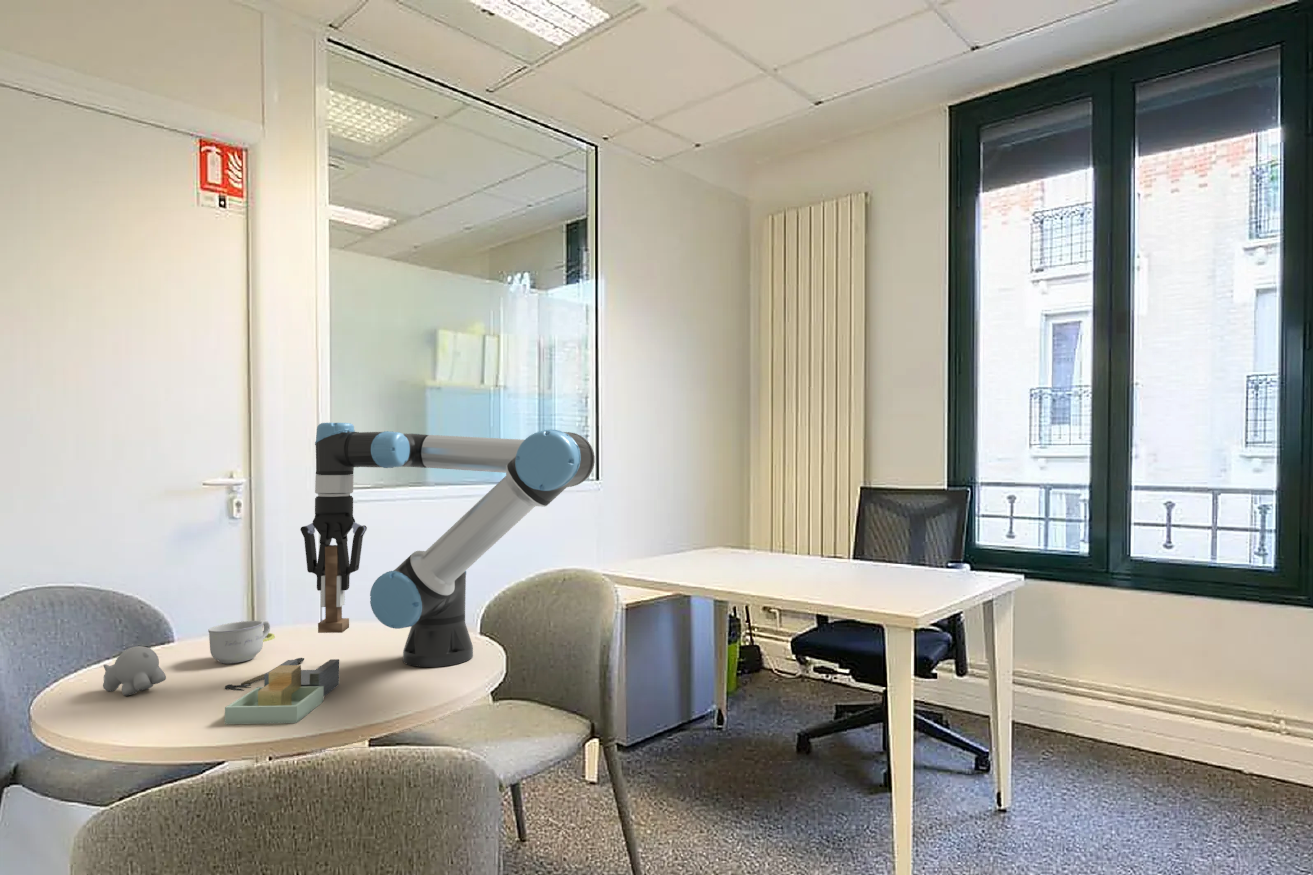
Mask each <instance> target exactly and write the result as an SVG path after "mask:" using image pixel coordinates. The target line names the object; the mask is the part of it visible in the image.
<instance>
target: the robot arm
mask: <svg viewBox="0 0 1313 875" xmlns="http://www.w3.org/2000/svg"><path fill="white" fill-rule="evenodd" d="M315 434H316V437H315V442H314V445H315V479H314V493H315V494H317V496H315V498H314V518H313V520H312V523H310V524H307V525H304V526H301V527H300V532H301V534H302V536H303V539H304V540H303V541H304V549H305V550H304V551H305V559H306V569H307V572H308V573H312V574H314V575H315V576H316V589H317V591H320V607H321V608H325V547H326V546H329V545H331V543H332V541H333V539H334V540H335V543H336V545H337V547H338V556H339V564H340V575H338V576H337V600H336V607H341V606H342V607H343V606H344V605H346V602H345V600H346V599H345V598H346V591H347V590H349V589H350V575H351V573H354V572H356V571H359V570H360V562H361V554H362V546H363V540H364V538H363V537H364V536H365V534H366V531H367V530H368V527H367V526H366V525H361V524H359V523H357V522H356V520H355V518H354V515H353V514H354V497H353V496H352V495H351V494H352V493H354V470H355V469H354V468H383V469H391V468H392V469H393V468H399V467H400V468H405V467H406V468H423V469H425V468H426V469H442V470H444V469H445V470H456V471H457V470H459V471H460V470H461V471H470V472H471V471H472V472H489V473H501V474H502V473H505V476H504V477H503V478H502V479H501V480H500V481H498V482H497V484H496V485H494V486H493V487H492V488H491V489H490V490H489V491H488V492H487V493H486V494H485V495H484V496H483V497H482V498H480V500H478V501H477V502H476V503H475V504H474V505H473V506H472V507H471V508H470V509H469V510H468V511H467V512H465V514H463V515H462V516H461V517H460V518H459V519H458V520H457V521H456V522H455V523H454V524H453V525H452V526H451V527H449V528H448V530H446V532H445V533H444V534H442V535H441V536H440V537H439V538H438V539H436V541H435V542H433V543H432V545H430V546H429V547H428V548H427V549H426V550H415V551H414V552H412V553H411V554H410V555H409V556H408V557H407V558H406V559H404V561H402V562H401V564H399V565H398V566H397V567H396V568H395V569H394V570H389V571H386V572H385V573H382V575H379V577H377V578H376V580H375V581H374V582H373V584H372V585H371V588H370V593H369V597H370V601H369V603H370V608H371V610H372V613H373V615H374V616H375V618H376V619H377V620H378V621H379V622H380V623H381V624H382V625H384V626H385V627H388V628H391V629H395V630H397V629H399V630H400V629H405V628H410V630H409V632H408V634H407V638H406V641H405V644H404V648H403V651H402V662H403V663H405V664H406V665H409V666H413V667H419V668H420V667H421V668H422V667H423V668H430V667H431V668H435V667H445V666H446V667H447V666H452V665H457V664H461V663H465V662H467V661H469V660H471V659H472V658H474V657H473V656H474V645H473V641H472V639H471V636H470V633H469V630H468V626H467V623H466V593H467V592H466V589H467V588H466V587H467V586H466V585H467V584H466V582H467V579H466V576H467V570H469V568H470V567H472V565H474V563H476V562H477V561H478V560H479V559H480V558H481V557H482V556H483V555H484V554H486V552H488V551H489V550H490V549H491V548H492V547H493V546H494V545H495V544H496V543H497V542H499V540H501V539H502V538H503V537H504V536H505V535H506V534H508V532H509V531H510V530H511V529H512V528H514V526H516V525H517V524H518V523H519V522H520V521H521V520H522V519H523V518H525V516H526V515H527V514H528V513H530V511H532V510H533V509H534V508H535V507H541V508H542V507H547V506H548V505H550V503H552V502H553V501H554V500H555V499H557V497H558V496H559V495H560V494H562V492H564V491H565V489H567V488H571V487H574V486H575V487H576V486H579V485H580V484H582V483H583V482H585V481H586V480H588V478H589V477H590V475H591V474H592V472H593V470H594V468H595V467H594V466H595V460H596V458H595V452H594V450H593V447H592V445H591V443H590V442H589V441H588V440H587V439H586V438H585V437H583V436H582V435H580V434H578V433H575V432H570V431H568V432H567V431H561V430H558V429H544V430H541V431H537V432H534V433H532V434H531V435H528V437H526V438H525V439H520V438H500V437H498V438H497V437H480V436H478V437H477V436H461V435H460V436H458V435H439V434H420V433H402V432H400V431H399V432H397V431H388V430H387V431H385V430H384V431H364V432H363V431H362V432H359V431H356V430H355V426H354V424H353V423H351V422H350V423H349V422H321V423H319V424H317V427H316V433H315ZM351 530H352V534H353V538H352V545H351V552H350V556H349V548H348V534H349V533H350V531H351ZM316 531H317V533H318V534H319V535H320V537H319V544H320V545H319V550H318V557H317V548H316V546H317V545H316V538H315V537H316V536H315V532H316Z"/></svg>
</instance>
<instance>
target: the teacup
mask: <svg viewBox="0 0 1313 875" xmlns="http://www.w3.org/2000/svg"><path fill="white" fill-rule="evenodd" d="M270 631H271V624H270V622H269V621H268V620H267V619H260V620H245V621H244V620H241V621H234V622H229V623H222V624H218V625H215V626H213V627H210V628H209V629H208V631H207V632H208V635H209V637H208V638H209V652H210V656H211V657H212V658H213V659H214V660H216V661H218V662H219V663H220V664H225V665H227V664H237V663H242V662H247V661H250V660H252V659H254V658H256V656H257V655H258V654H259V653H260V652H261V651H262V649H263V646H264V642H263V639H266V638H267V637H266V636H267V635H268V633H270Z"/></svg>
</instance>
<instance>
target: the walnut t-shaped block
mask: <svg viewBox="0 0 1313 875" xmlns="http://www.w3.org/2000/svg"><path fill="white" fill-rule="evenodd" d="M338 575H340V564H339V556H338V547H337V544H330V545H329V546H326V547H325V607H324V609H325V610H324V611H325V615H324V616H325V618H324V619H323V620H321V621H319V622H318V623H317V627H318V628H317V633H319V634H328V633H329V634H335V633H336V634H343V633H344V632H345V631H346V630H348V629H349V628H350V618H348V617H346V618H345V617H343V616H342V615H343V613H342V612H343V610H342V609H343V606H341V607H336V600H337V576H338Z"/></svg>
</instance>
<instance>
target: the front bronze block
mask: <svg viewBox="0 0 1313 875" xmlns="http://www.w3.org/2000/svg"><path fill="white" fill-rule="evenodd" d="M262 687H263V688H262V689H260V690H259V691H258V706H284V705H292V683H274V684H268V685H266V686H265V687H264V686H262Z"/></svg>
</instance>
